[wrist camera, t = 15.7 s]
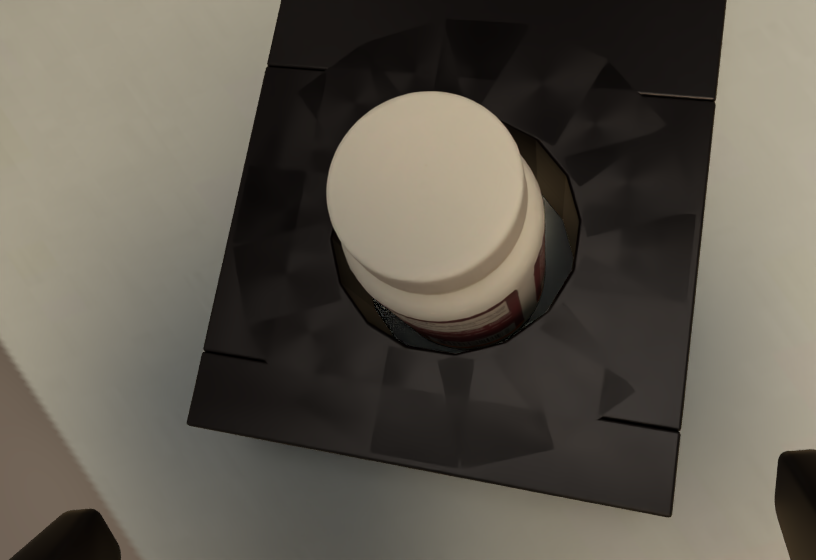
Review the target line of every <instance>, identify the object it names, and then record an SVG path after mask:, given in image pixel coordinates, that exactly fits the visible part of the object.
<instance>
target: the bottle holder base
mask: <svg viewBox="0 0 816 560" xmlns="http://www.w3.org/2000/svg"><path fill="white" fill-rule="evenodd" d="M726 1H727V0H281V4H280V9H279V13H278V18H277V22H276V27H275V31H274V36H273V40H272V45H271V49H270V54H269V58H268V63H267V65H268V67H267V68H266V71H265V75H264V79H263V84H262V88H261V93H260V97H259V102H258V106H257V111H256V115H255V120H254V124H253V129H252V133H251V138H250V142H249V147H248V151H247V156H246V160H245V164H244V169H243V173H242V178H241V182H240V187H239V191H238V196H237V200H236V205H235V209H234V214H233V218H232V223H231V227H230V232H229V236H228V240H227V245H226V249H225V254H224V258H223V263H222V267H221V272H220V276H219V281H218V285H217V290H216V294H215V299H214V303H213V308H212V312H211V316H210V321H209V325H208V330H207V334H206V339H205V343H204V348H203V349H204V351H206V352H203V353H202V356H201V361H200V365H199V370H198V374H197V379H196V383H195V388H194V392H193V397H192V401H191V406H190V410H189V415H188V419H187V425H189V426H193V427H198V428H204V429H209V430H214V431H219V432H225V433H230V434H235V435H240V436H245V437H251V438H256V439H261V440H266V441H271V442H277V443H282V444H287V445H292V446H298V447H303V448H308V449H313V450H318V451H324V452H329V453H334V454H339V455H345V456H350V457H355V458H360V459H365V460H371V461H376V462H381V463H386V464H391V465H397V466H402V467H407V468H412V469H418V470H423V471H428V472H433V473H438V474H444V475H449V476H454V477H459V478H465V479H470V480H475V481H480V482H485V483H491V484H496V485H501V486H506V487H511V488H517V489H522V490H527V491H532V492H538V493H543V494H548V495H553V496H558V497H564V498H569V499H574V500H579V501H584V502H590V503H595V504H600V505H605V506H611V507H616V508H621V509H626V510H631V511H637V512H642V513H647V514H652V515H658V516H663V517H671V516H672V511H673V502H674V492H675V483H676V473H677V464H678V455H679V445H680V436H681V434H680V432H679V431H680V430H681V427H682V417H683V408H684V398H685V389H686V379H687V370H688V361H689V351H690V342H691V332H692V323H693V313H694V304H695V295H696V285H697V276H698V266H699V257H700V247H701V238H702V229H703V219H704V210H705V200H706V191H707V181H708V172H709V163H710V153H711V144H712V134H713V125H714V115H715V106H716V105H715V100H716V95H717V86H718V76H719V67H720V57H721V48H722V39H723V29H724V20H725V10H726ZM425 91H438V92H447V93H451V94H456V95H460V96H463V97H465V98H468V99H470V100H473V101H474V102H476V103H478V104H480V105H482V106H483V107H485V108H486V109H487V110H489V111H490V112H491V113H492V114H494V115H495V116H496V117H497V118H498V119H499V120H500V121H501V122H502V123H503V125H504V126H505V127H506V128H507V130H508V131H509V133H510V134H511V136H512V137H513V139H514V141H515V142H516V144H517V146H518V149H519V152H520V155H521V156H522V157H523V159H524V160H525V161H526V163H527V164H528V166H529V167H530V169H531V170H532V172H533V174H534V176H535V178H536V180H537V182H538V185H539V187H540V190H541V194H542V195H543V196H544V197H545V199H546V200H547V201H548V202H549V204H550V205H551V206H552V207H553V208H554V210H555V211H556V212H557V213H558V215H559V216H560V217H561V218H562V219H563V223H564V226H565V230H566V233H567V237H568V240H569V244H570V247H571V251H572V254H573V265H572V271H571V272H570V274H569V276H568V277H567V279H566V281H565V282H564V284H563V286H562V287H561V289H560V291H559V292H558V294H557V295H556V297H555V299H554V300H553V302H552V304H551V305H550V307H549V309H548V310H547V312H546V313H544V314H543V315H541V316H540V317H539V318H537V319H536V320H535V321H533V322H532V323H530V324H529V325H528V326H526V327H525V328H524V329H522V330H521V331H519V332H518V333H517V334H515V335H514V336H513V337H511V338H510V339H508V340H507V341H506V342H502V343H498V344H494V345H490V346H486V347H482V348H478V349H473V350H469V351H465V352H461V353H457V354H455V353H449V352H443V351H436V350H430V349H423V348H417V347H411V346H407V345H405V344H404V343H402V342H401V341H399V340H397V339H396V338H395V337H394V336H393V334H392V333H391V331H390V330H389V329H388V327H387V326H386V324H385V323H384V321H383V320H382V319H381V317H380V316H379V314H378V313H377V311H376V310H375V309H374V304H373V299H372V296H371V295H370V294H369V293H368V292H367V291H366V290H365V289H364V288H363V286H362V285H361V284H360V282H359V281H358V280H357V278H356V277H355V275H354V274H353V272H352V271H351V270H350V268H349V265H348V263H347V260H346V257H345V254H344V252H343V248H342V244H341V241H340V240H339V238H338V236H337V234H336V232H335V230H334V228H333V226H332V223H331V220H330V216H329V211H328V206H327V195H326V188H327V179H328V174H329V169H330V165H331V162H332V159H333V157H334V154H335V152H336V150H337V148H338V146H339V144H340V143H341V141H342V139H343V138H344V136H345V135H346V134H347V132H348V131H349V130H350V129H351V127H352V126H353V125H354V124H355V123H356V122H357V121H358V120H359V119H360V118H362V117H363V116H364V115H365V114H366V113H368V112H369V111H370V110H372V109H373V108H375V107H377V106H378V105H380V104H382V103H384V102H386V101H388V100H390V99H393V98H395V97H398V96H402V95H405V94H409V93H414V92H425Z"/></svg>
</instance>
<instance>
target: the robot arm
mask: <svg viewBox="0 0 816 560" xmlns="http://www.w3.org/2000/svg"><path fill="white" fill-rule="evenodd" d="M775 509H776V514H777V518H778V521H779V524H780V528H781V531H782V534H783V537H784V540H785V544H786V547H787V550H788V553H789V556H790V559H791V560H816V450H813V449H809V450H797V451H786V452H783V453H782V454H781V455H780V457H779V459H778V467H777V477H776V488H775ZM9 560H121V552H120V547H119V545H118V543H117V541H116V539H115V538H114V536H113V534H112V532H111V531H110V529H109V528H108V526H107V524H106V522H105V521H104V519H103V517H102V516H101V514H100V513H99V512H98V511H96V510H95V509H81V510H70V511H67V512H65V513H63V514H62V515H61V516H59V517H58V518H57V519H56V520H55V521H53V522H52V523H51V524H50V525H49V526H48V527H46V528H45V529H44V530H43V531H42V532H41V533H39V534H38V535H37V536H36V537H35V538H34V539H33V540H31V541H30V542H29V543H28V544H27V545H26V546H25V547H23V548H22V549H21V550H20V551H19V552H17V553H16V554H15V555H14V556H13V557H12V558H10V559H9Z"/></svg>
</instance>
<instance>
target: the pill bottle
mask: <svg viewBox="0 0 816 560" xmlns="http://www.w3.org/2000/svg"><path fill="white" fill-rule="evenodd" d="M326 195H327V206H328V211H329V216H330V220H331V223H332V226H333V228H334V230H335V232H336V234H337V236H338V238H339V240H340V241H341V244H342V248H343V252H344V254H345V257H346V260H347V263H348V265H349V268H350V270H351V271H352V272H353V274H354V275H355V277H356V278H357V280H358V281H359V282H360V284H361V285H362V286H363V288H364V289H365V290H366V291H367V292H368V293H369V294H370V295H371V296H372V297H373V298H374V299H375V300H377V301H378V302H379V303H380V304H381V305H383V306H384V307H386V308H387V309H388V310H390V311H391V312H392V313H394V314H395V315H396V316H397V317H399V318H400V319H401V320H402V321H404V322H405V323H406V324H407V325H408V326H410V327H411V328H413V329H414V330H415V331H417V332H418V333H419V334H420V335H422V336H423V337H425V338H427V339H429V340H430V341H432V342H435V343H437V344H440V345H443V346H446V347H451V348H457V349H473V348H481V347H486V346H489V345H492V344H495V343H497V342H499V341H501V340H503V339H505V338H507V337H508V336H510V335H511V334H513V333H514V332H515V331H517V330H518V329H519V328H520V327H521V326H522V325H523V324H524V323H525V322H526V321H527V320H528V318H529V317H530V316H531V314H532V313H533V311H534V310H535V308H536V306H537V304H538V302H539V300H540V297H541V294H542V291H543V287H544V281H545V266H546V261H545V216H544V215H545V212H544V204H543V198H542V194H541V190H540V187H539V185H538V182H537V180H536V178H535V176H534V174H533V172H532V170H531V169H530V167H529V166H528V164H527V163H526V161H525V160H524V159H523V157H522V156H521V155H520V152H519V149H518V146H517V144H516V142H515V141H514V139H513V137H512V136H511V134H510V133H509V131H508V130H507V128H506V127H505V126H504V125H503V123H502V122H501V121H500V120H499V119H498V118H497V117H496V116H495V115H494V114H492V113H491V112H490V111H489V110H487V109H486V108H485V107H483V106H482V105H480V104H478V103H476V102H474V101H473V100H470V99H468V98H465V97H463V96H460V95H456V94H451V93H447V92H438V91H425V92H414V93H409V94H405V95H402V96H398V97H395V98H393V99H390V100H388V101H386V102H384V103H382V104H380V105H378V106H377V107H375V108H373V109H372V110H370V111H369V112H368V113H366V114H365V115H364V116H363V117H362V118H360V119H359V120H358V121H357V122H356V123H355V124H354V125H353V126H352V127H351V129H350V130H349V131H348V132H347V134H346V135H345V136H344V138H343V139H342V141H341V143H340V144H339V146H338V148H337V150H336V152H335V154H334V157H333V159H332V162H331V165H330V169H329V174H328V179H327V188H326Z"/></svg>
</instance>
